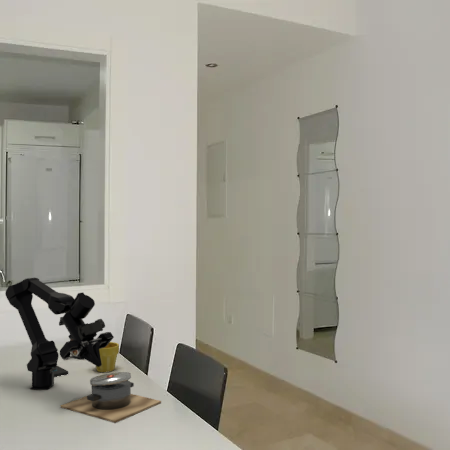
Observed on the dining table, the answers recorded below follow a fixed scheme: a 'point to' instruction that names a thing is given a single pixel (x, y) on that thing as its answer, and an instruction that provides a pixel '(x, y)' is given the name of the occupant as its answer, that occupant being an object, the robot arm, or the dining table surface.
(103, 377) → the lid
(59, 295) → the robot arm
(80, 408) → the board
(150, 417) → the dining table surface
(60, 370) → the smart home device
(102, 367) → the plant pot
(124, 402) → the cooker
